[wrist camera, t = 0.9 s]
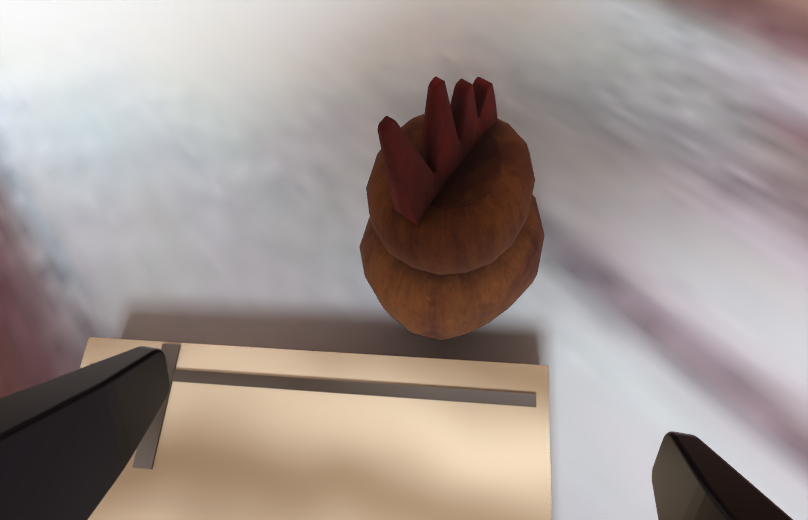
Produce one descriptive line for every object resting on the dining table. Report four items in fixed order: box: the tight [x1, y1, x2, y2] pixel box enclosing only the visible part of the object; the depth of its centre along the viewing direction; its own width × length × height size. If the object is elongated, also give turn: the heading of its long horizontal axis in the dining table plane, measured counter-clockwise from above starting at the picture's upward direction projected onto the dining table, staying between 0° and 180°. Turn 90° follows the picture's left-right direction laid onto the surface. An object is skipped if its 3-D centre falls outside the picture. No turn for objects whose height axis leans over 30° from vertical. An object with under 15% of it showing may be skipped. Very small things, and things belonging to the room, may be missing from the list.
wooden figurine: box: [360, 77, 544, 340], centre depth 16 cm, size 7×6×15 cm
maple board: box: [80, 337, 552, 520], centre depth 20 cm, size 11×20×2 cm, turn 86°
